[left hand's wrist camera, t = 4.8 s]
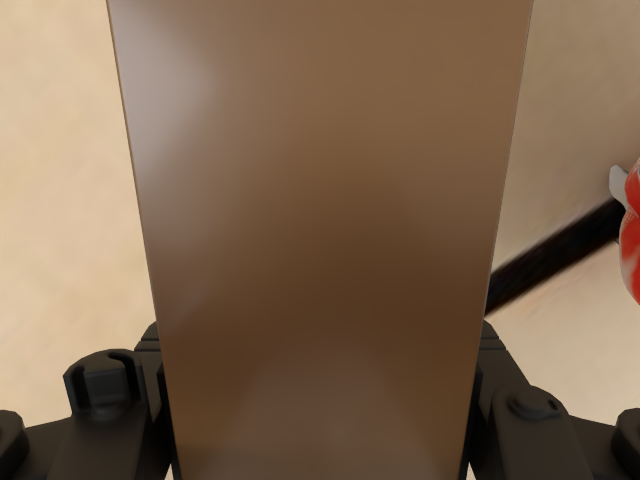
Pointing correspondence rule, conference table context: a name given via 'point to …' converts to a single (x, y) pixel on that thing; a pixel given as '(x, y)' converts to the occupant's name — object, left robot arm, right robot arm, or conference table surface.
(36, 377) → the conference table surface
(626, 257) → the fish
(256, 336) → the bar
